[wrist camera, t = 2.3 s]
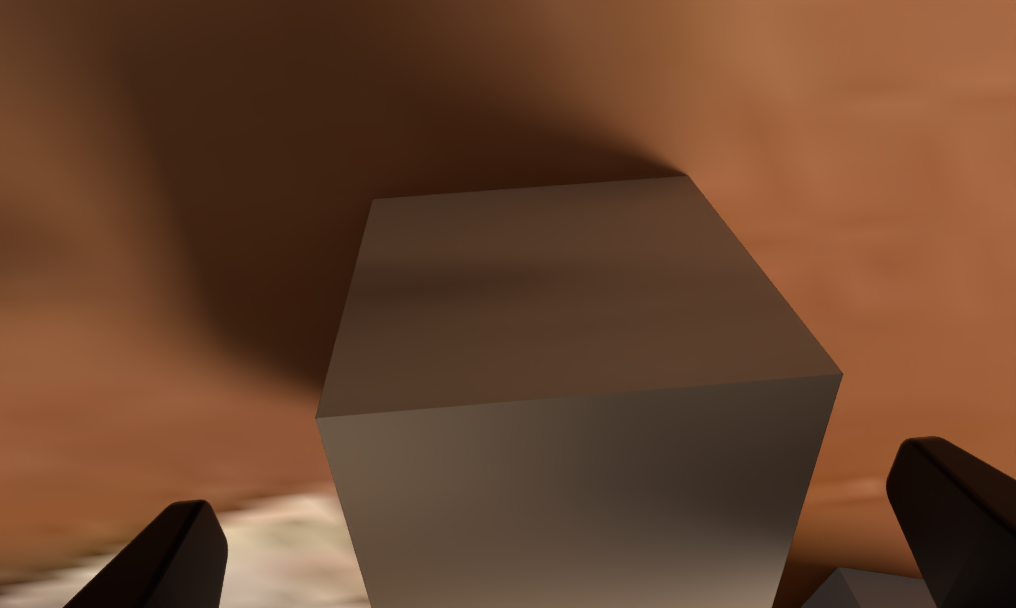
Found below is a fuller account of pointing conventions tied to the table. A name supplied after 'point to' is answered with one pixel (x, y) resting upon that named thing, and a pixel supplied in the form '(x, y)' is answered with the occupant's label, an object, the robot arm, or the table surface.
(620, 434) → the metal cube
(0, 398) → the table surface
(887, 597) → the dice cube
